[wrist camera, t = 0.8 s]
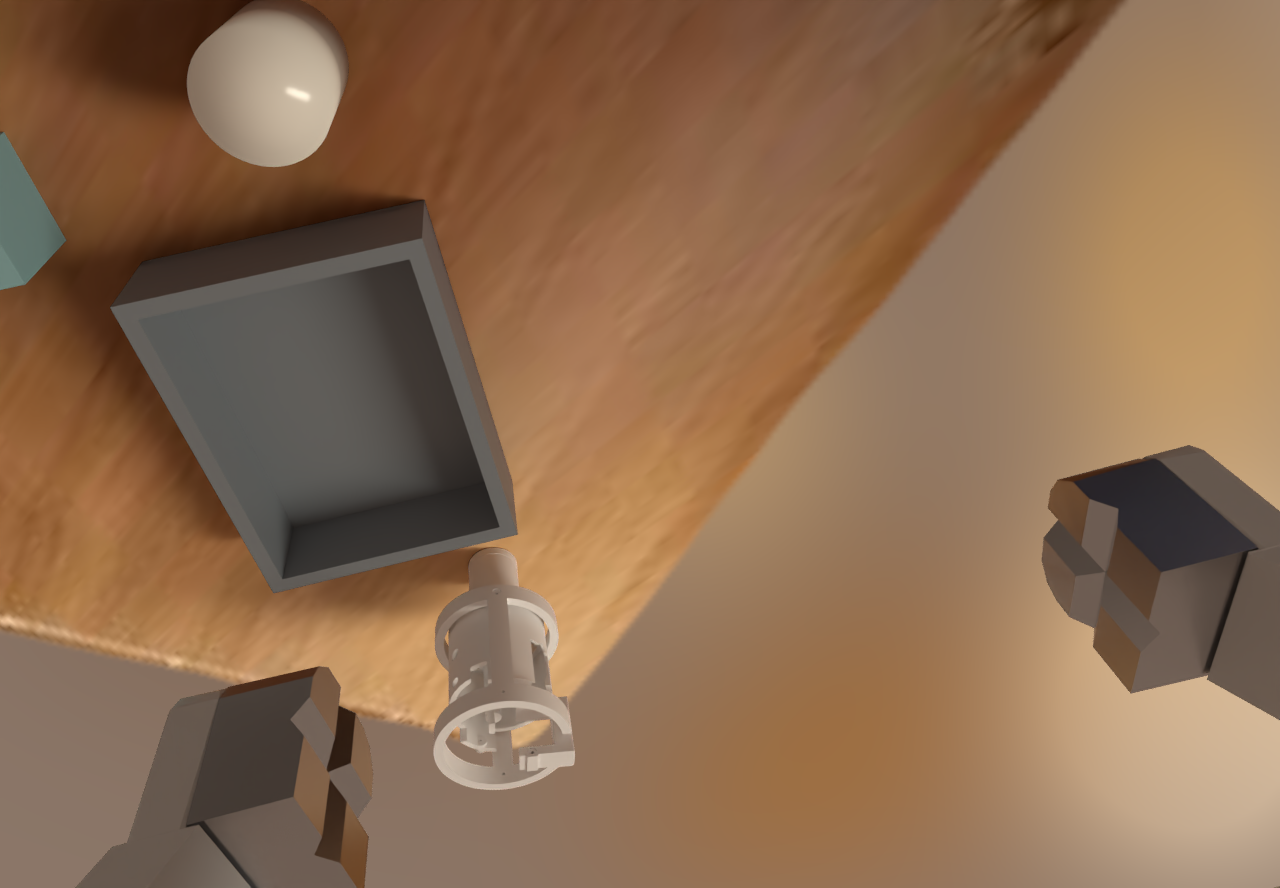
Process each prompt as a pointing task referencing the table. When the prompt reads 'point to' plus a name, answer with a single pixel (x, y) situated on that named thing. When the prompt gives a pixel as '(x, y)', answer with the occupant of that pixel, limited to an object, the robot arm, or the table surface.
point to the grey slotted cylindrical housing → (499, 677)
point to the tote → (327, 393)
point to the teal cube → (22, 222)
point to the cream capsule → (269, 82)
